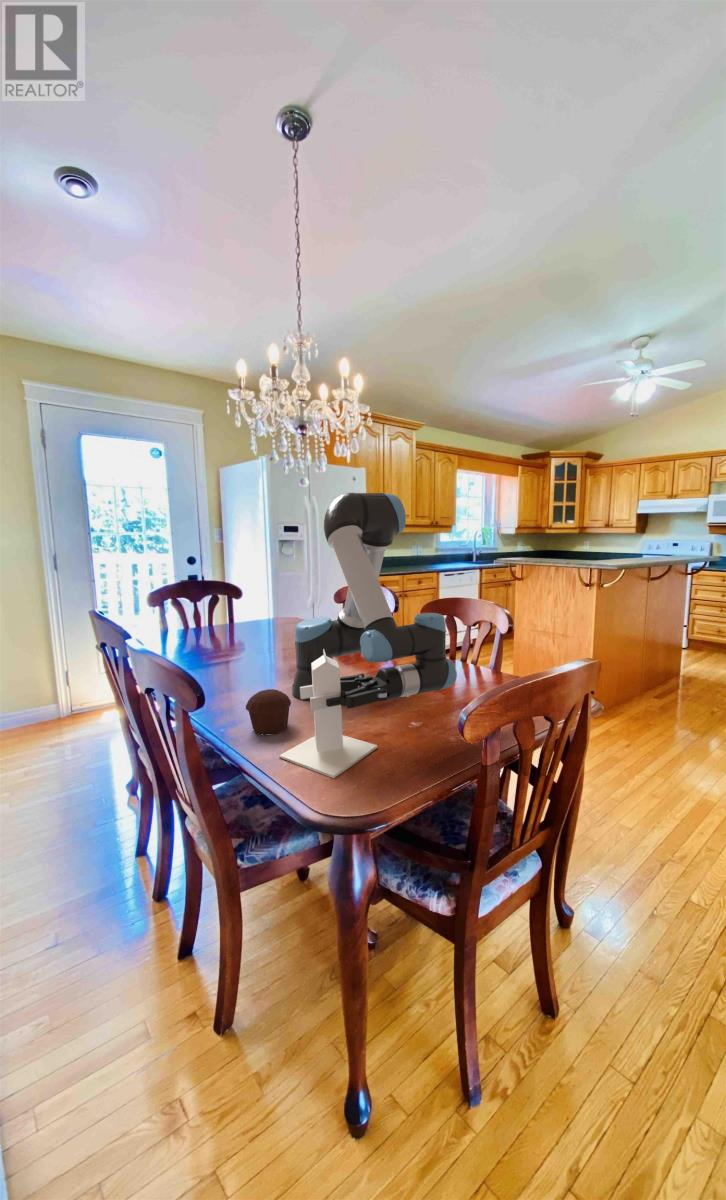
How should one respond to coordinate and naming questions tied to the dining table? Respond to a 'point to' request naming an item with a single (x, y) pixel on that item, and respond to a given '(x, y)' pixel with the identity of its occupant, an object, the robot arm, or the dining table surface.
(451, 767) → the dining table surface
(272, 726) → the muffin
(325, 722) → the milk
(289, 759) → the mat
